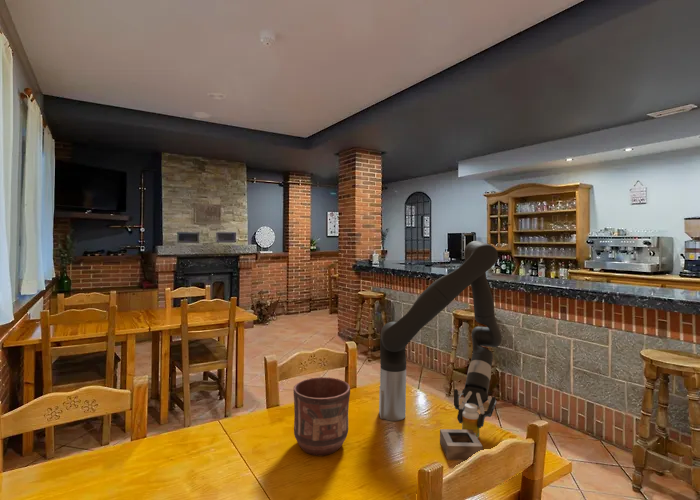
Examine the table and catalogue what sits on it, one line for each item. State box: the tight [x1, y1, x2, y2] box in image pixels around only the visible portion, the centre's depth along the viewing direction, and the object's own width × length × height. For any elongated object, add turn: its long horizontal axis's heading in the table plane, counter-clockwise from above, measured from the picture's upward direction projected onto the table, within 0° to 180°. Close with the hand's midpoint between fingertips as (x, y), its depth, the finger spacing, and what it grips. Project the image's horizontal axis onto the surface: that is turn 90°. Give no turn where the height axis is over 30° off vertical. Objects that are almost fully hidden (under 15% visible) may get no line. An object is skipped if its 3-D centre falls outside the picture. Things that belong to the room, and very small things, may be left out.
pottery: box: [293, 376, 351, 456], centre depth 119 cm, size 18×18×18 cm
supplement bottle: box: [461, 403, 480, 439], centre depth 127 cm, size 5×5×10 cm
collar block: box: [439, 428, 484, 461], centre depth 117 cm, size 10×10×4 cm
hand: (469, 424), depth 125 cm, fingers closed on supplement bottle, 5 cm apart
